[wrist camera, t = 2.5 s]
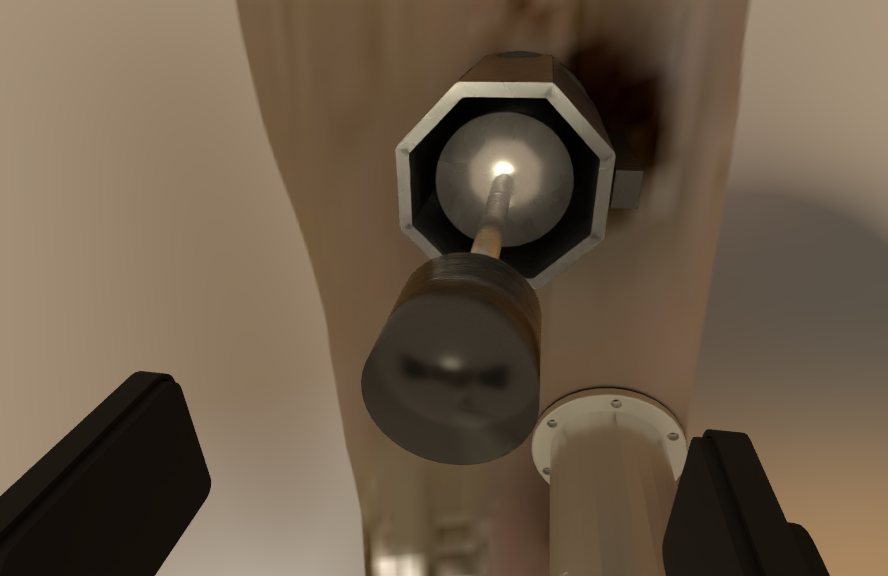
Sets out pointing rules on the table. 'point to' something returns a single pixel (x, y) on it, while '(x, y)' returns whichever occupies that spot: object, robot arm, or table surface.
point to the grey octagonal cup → (562, 108)
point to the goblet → (473, 301)
